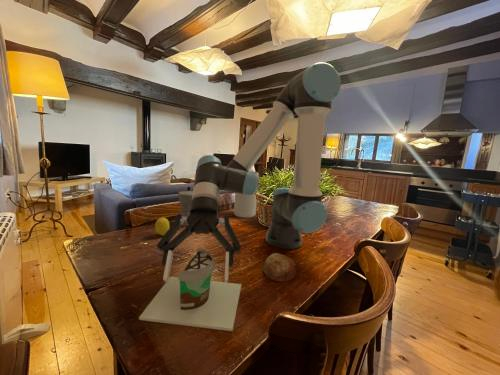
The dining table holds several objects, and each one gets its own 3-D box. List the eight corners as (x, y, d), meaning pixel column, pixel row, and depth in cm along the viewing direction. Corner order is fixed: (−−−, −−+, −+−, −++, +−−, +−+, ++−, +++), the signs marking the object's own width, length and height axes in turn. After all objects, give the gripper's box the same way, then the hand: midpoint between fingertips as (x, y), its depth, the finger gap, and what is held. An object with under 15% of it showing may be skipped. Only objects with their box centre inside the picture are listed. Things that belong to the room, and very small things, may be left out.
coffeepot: (170, 222, 110) (171, 185, 107) (185, 218, 118) (186, 184, 115) (194, 230, 102) (195, 190, 100) (208, 225, 110) (209, 188, 108)
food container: (205, 318, 49) (206, 275, 48) (177, 314, 50) (178, 271, 48) (218, 285, 61) (220, 250, 60) (196, 282, 62) (198, 247, 60)
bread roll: (265, 275, 76) (257, 254, 75) (293, 263, 77) (286, 242, 75) (270, 293, 67) (261, 270, 65) (303, 280, 67) (294, 256, 65)
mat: (241, 286, 63) (241, 284, 63) (232, 331, 47) (232, 328, 47) (170, 278, 64) (170, 276, 64) (139, 319, 48) (139, 317, 48)
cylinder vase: (256, 213, 137) (260, 172, 133) (253, 219, 125) (256, 173, 121) (236, 211, 139) (239, 170, 135) (231, 216, 127) (233, 171, 123)
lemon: (172, 234, 95) (172, 216, 94) (163, 239, 90) (163, 219, 89) (161, 232, 97) (161, 214, 96) (151, 236, 92) (151, 217, 91)
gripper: (247, 210, 69) (248, 285, 57) (162, 206, 66) (143, 284, 54) (250, 196, 63) (252, 277, 51) (156, 192, 60) (134, 275, 48)
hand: (196, 281), depth 52 cm, fingers open, 13 cm apart
